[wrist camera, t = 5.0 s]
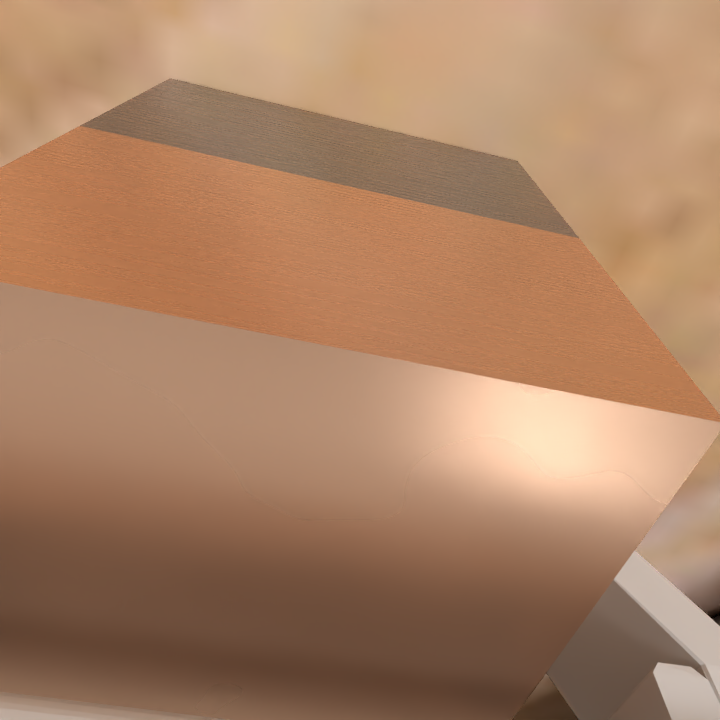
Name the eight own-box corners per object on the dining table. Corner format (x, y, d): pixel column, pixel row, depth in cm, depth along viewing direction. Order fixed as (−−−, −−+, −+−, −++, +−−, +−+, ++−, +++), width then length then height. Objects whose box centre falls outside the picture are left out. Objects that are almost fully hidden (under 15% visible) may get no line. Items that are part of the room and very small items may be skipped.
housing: (518, 161, 9) (726, 422, 4) (385, 526, 13) (396, 880, 8) (169, 78, 8) (-159, 250, 3) (152, 489, 12) (3, 843, 7)
